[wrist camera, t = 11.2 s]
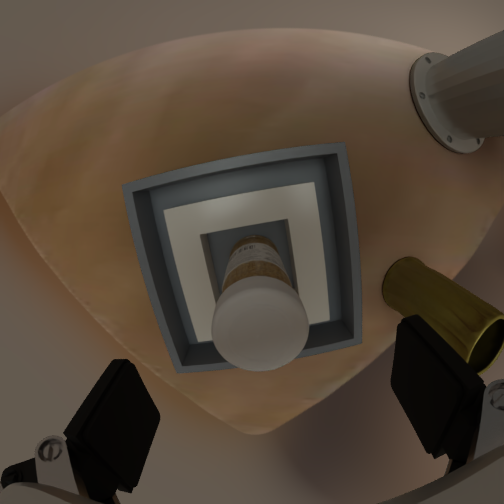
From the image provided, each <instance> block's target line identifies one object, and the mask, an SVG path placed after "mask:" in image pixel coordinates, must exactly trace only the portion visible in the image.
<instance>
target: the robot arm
mask: <svg viewBox="0 0 504 504" xmlns="http://www.w3.org/2000/svg"><path fill="white" fill-rule="evenodd" d="M410 86H411V92H412V97H413V100H414V103H415V106H416V109H417V111H418V113H419V115H420V117H421V119H422V121H423V122H424V124H425V126H426V127H427V129H428V130H429V131H430V133H431V134H432V135H433V136H434V138H435V139H436V140H438V141H439V142H440V143H441V144H442V145H443V146H445V147H446V148H447V149H449V150H451V151H454V152H456V153H471V152H474V151H476V150H477V149H479V148H480V146H481V145H482V144H483V142H484V139H485V138H486V137H497V136H504V30H503V31H501V32H498V33H496V34H494V35H492V36H490V37H488V38H485V39H483V40H481V41H479V42H477V43H475V44H473V45H471V46H469V47H467V48H465V49H463V50H461V51H459V52H457V53H455V54H453V55H451V56H449V57H448V56H446V55H443V54H440V53H434V52H433V53H427V54H425V55H423V56H421V57H420V58H418V59H417V60H416V61H415V63H414V64H413V66H412V69H411V74H410ZM391 387H392V389H393V391H394V393H395V395H396V397H397V398H398V400H399V402H400V404H401V406H402V407H403V409H404V411H405V413H406V415H407V417H408V418H409V420H410V422H411V424H412V426H413V428H414V430H415V431H416V433H417V435H418V437H419V439H420V441H421V443H422V445H423V446H424V449H425V451H426V452H427V453H428V454H430V453H431V454H432V455H433V457H434V459H436V458H438V457H440V456H442V455H444V454H447V455H448V457H449V462H448V465H447V468H446V472H445V474H444V476H443V477H441V478H439V479H437V480H435V481H433V482H431V483H429V484H427V485H424V486H422V487H420V488H417V489H415V490H412V491H410V492H408V493H405V494H403V495H400V496H398V497H395V498H392V499H389V500H387V501H384V502H381V503H378V504H504V379H501V380H496V381H493V382H491V383H490V384H489V385H488V386H487V387H486V386H485V384H484V381H483V380H482V378H481V377H479V375H478V374H477V373H476V372H475V371H474V370H473V369H472V368H471V367H470V365H469V364H468V363H467V362H466V361H465V360H464V359H463V358H462V357H461V356H460V355H459V354H458V353H457V352H456V351H455V350H454V349H453V348H452V347H451V346H450V345H449V344H448V343H447V342H446V341H445V340H444V339H443V338H442V337H441V336H440V335H439V334H438V333H437V332H436V331H435V330H434V329H433V328H432V327H431V326H430V325H429V324H428V323H427V322H426V321H425V320H424V319H423V318H422V317H421V316H419V315H418V314H415V315H412V316H408V317H405V318H403V319H402V320H401V323H399V324H398V326H397V334H396V344H395V353H394V361H393V368H392V375H391ZM159 422H160V413H159V411H158V409H157V407H156V406H155V404H154V402H153V400H152V398H151V397H150V395H149V393H148V391H147V389H146V387H145V385H144V383H143V381H142V379H141V377H140V375H139V373H138V371H137V369H136V367H135V365H134V364H133V363H131V362H130V361H129V360H128V359H114V360H113V361H111V363H110V364H109V366H108V367H107V368H106V370H105V371H104V373H103V374H102V375H101V377H100V379H99V380H98V381H97V383H96V384H95V386H94V387H93V388H92V390H91V391H90V393H89V395H88V396H87V397H86V399H85V400H84V402H83V403H82V405H81V406H80V408H79V409H78V411H77V412H76V414H75V415H74V417H73V418H72V420H71V421H70V423H69V425H68V426H67V428H66V429H65V431H64V432H63V433H64V435H65V436H66V437H67V440H66V441H65V440H63V438H62V437H59V436H48V437H46V438H44V439H43V440H41V441H40V442H39V444H38V445H37V447H36V449H35V458H32V459H30V460H27V461H24V462H21V463H18V464H15V465H12V466H9V467H8V468H6V469H5V470H4V471H3V474H2V477H1V481H0V504H120V502H119V499H118V498H117V495H116V493H115V492H116V490H117V489H118V490H120V491H124V492H128V493H132V490H133V487H136V486H137V484H138V482H139V479H140V476H141V473H142V470H143V467H144V464H145V461H146V458H147V456H148V453H149V450H150V447H151V444H152V441H153V438H154V436H155V433H156V430H157V427H158V424H159Z"/></svg>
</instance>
